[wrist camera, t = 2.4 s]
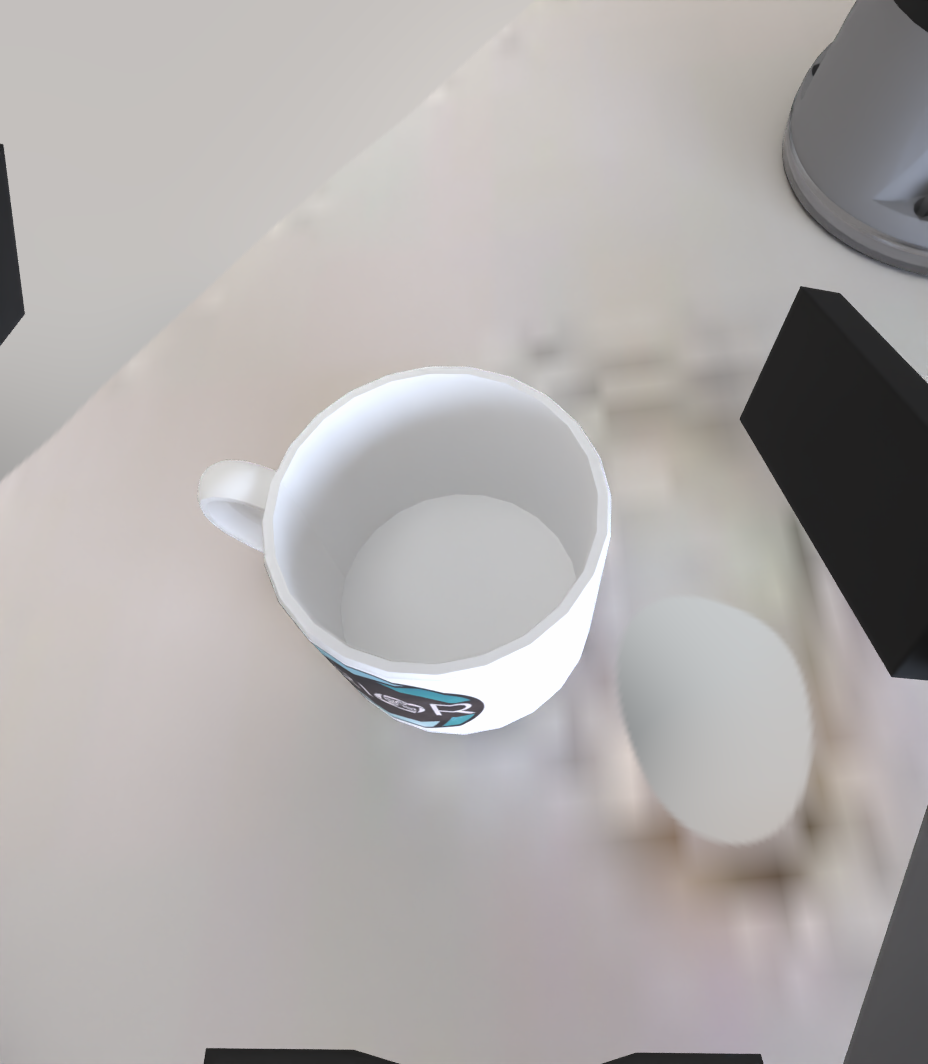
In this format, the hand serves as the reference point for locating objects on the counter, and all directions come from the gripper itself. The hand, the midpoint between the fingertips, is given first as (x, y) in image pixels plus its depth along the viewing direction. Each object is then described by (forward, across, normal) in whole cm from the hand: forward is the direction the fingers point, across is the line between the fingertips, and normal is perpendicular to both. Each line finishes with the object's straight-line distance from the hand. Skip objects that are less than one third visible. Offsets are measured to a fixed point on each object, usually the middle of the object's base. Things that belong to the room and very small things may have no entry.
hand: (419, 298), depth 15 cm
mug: (+10, +3, -16) cm, 20 cm away
